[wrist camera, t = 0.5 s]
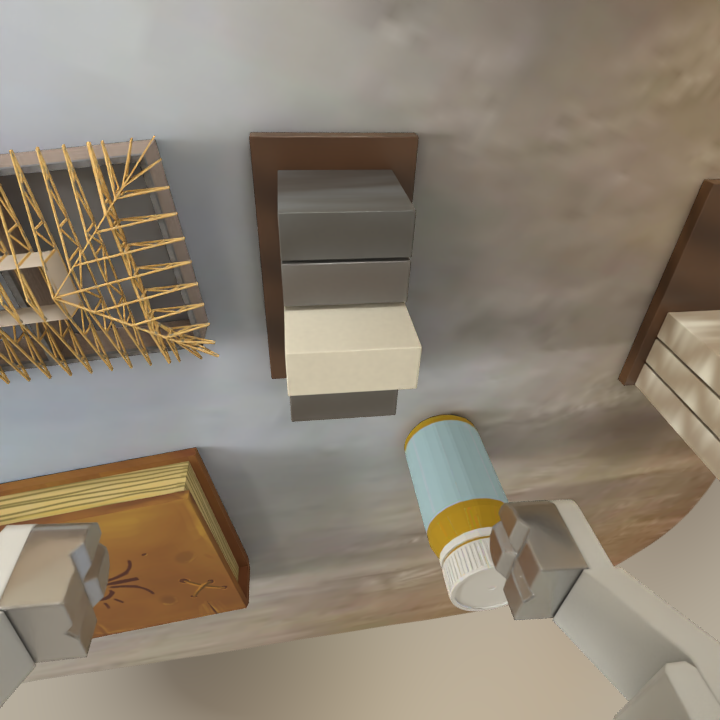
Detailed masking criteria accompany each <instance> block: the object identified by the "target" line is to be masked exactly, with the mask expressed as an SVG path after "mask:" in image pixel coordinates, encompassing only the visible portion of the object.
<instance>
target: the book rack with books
mask: <svg viewBox="0 0 720 720" xmlns="http://www.w3.org/2000/svg"><path fill="white" fill-rule="evenodd" d="M618 379H619V381H620V382H621V383H622V384H623V385H624V386H625V385H636V386H637V387H638V389H639V390H640V391H641V392H642V393H643V394H644V395H645V396H646V398H647V399H648V400H649V401H650V402H651V403H652V404H653V406H654V407H655V408H656V409H657V410H658V411H659V412H660V414H661V415H662V416H663V417H664V418H665V419H666V420H667V422H668V423H669V424H670V425H671V426H672V427H673V428H674V430H675V431H676V432H677V433H678V434H679V435H680V436H681V438H682V439H683V440H684V441H685V442H686V443H687V444H688V446H689V447H690V448H691V449H692V450H693V451H694V452H695V454H696V455H697V456H698V457H699V458H700V459H701V460H702V462H703V463H704V464H705V465H706V466H707V467H708V468H709V470H710V471H711V472H712V473H713V474H714V475H715V476H716V478H717V479H718V480H719V481H720V179H709V180H704V182H703V184H702V186H701V188H700V191H699V193H698V195H697V198H696V200H695V202H694V205H693V207H692V209H691V212H690V214H689V216H688V218H687V221H686V223H685V225H684V228H683V230H682V232H681V235H680V237H679V239H678V242H677V244H676V246H675V249H674V251H673V253H672V255H671V258H670V260H669V262H668V265H667V267H666V269H665V272H664V274H663V276H662V279H661V281H660V283H659V285H658V288H657V290H656V292H655V295H654V297H653V299H652V302H651V304H650V306H649V309H648V311H647V313H646V316H645V318H644V320H643V322H642V325H641V327H640V329H639V332H638V334H637V336H636V339H635V341H634V343H633V346H632V348H631V350H630V352H629V355H628V357H627V359H626V362H625V364H624V366H623V369H622V371H621V373H620V376H619V378H618Z"/></svg>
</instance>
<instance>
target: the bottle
mask: <svg viewBox="0 0 720 720" xmlns="http://www.w3.org/2000/svg"><path fill="white" fill-rule="evenodd" d="M404 449H405V454H406V459H407V463H408V466H409V470H410V474H411V478H412V481H413V485H414V489H415V493H416V496H417V500H418V504H419V508H420V511H421V515H422V519H423V523H424V526H425V530H426V534H427V538H428V540H429V544H430V547H431V548H432V550H433V551H434V553H435V554H436V555H437V557H438V558H439V559H440V564H441V568H442V570H443V576H444V580H445V583H446V587H447V590H448V594H449V598H450V600H451V601H452V603H453V604H454V605H455V606H456V607H458V608H460V609H463V610H467V611H486V610H492V609H496V608H500V607H503V606H506V605H508V602H507V599H506V596H505V594H504V591H503V588H504V584H505V581H506V579H505V578H504V577H503V576H502V575H501V574H500V573H499V572H498V571H496V569H495V567H494V564H493V561H492V558H491V553H490V548H489V547H490V533H491V530H492V527H493V526H494V525H495V524H496V523H498V522H499V521H500V520H501V519H500V516H499V514H498V513H499V510H500V508H501V506H502V505H503V504H504V503H506V502H508V500H507V498H506V495H505V493H504V491H503V488H502V486H501V484H500V482H499V479H498V477H497V475H496V473H495V470H494V468H493V466H492V463H491V461H490V459H489V457H488V454H487V452H486V450H485V447H484V445H483V443H482V441H481V438H480V436H479V434H478V432H477V430H476V428H475V427H474V425H473V424H472V423H471V422H470V421H468V420H467V419H465V418H462V417H459V416H455V415H438V416H434V417H430V418H428V419H426V420H424V421H422V422H421V423H419V424H418V425H417V426H416V427H415V428H414V429H413V430H412V431H411V432H410V434H409V435H408V437H407V439H406V441H405V446H404Z"/></svg>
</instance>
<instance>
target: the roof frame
mask: <svg viewBox="0 0 720 720" xmlns="http://www.w3.org/2000/svg"><path fill="white" fill-rule="evenodd" d="M154 137H155V136H153V138H152V139H151V140H141V141H133V138H131V139H130V142H121V143H111V144H104V141H101V145H91V142H87V143H86V144H87V146H81V147H71V148H66V147H65V144H63V145H62V148H61V149H51V150H41V151H40V149H39V147H36V151H31V152H21V153H14V152H13V150H10V151H9V152H10V154H1V155H0V176H5V175H15V174H16V176H17V180H18V183H19V187H20V190H21V193H22V197H23V200H24V204H25V207H26V211H27V214H28V218H29V221H30V224H31V228H32V231H33V235H34V238H35V242H36V245H37V248H38V252H34V251H33V249H32V247H31V245H30V243H29V241H28V239H27V237H26V235H25V233H24V231H23V229H22V227H21V225H20V223H19V221H18V219H17V217H16V215H15V213H14V211H13V209H12V207H11V205H10V203H9V201H8V199H7V197H6V195H5V193H4V190H3V188H2V186H1V184H0V272H1V274H2V276H3V278H4V279H5V281H6V283H7V285H8V287H9V289H10V290H11V292H12V294H13V296H14V298H15V299H16V301H17V303H18V305H19V307H20V308H19V309H15V308H14V306H13V305H12V303H11V301H10V299H9V297H8V296H7V294H6V292H5V290H4V289H3V287H2V285H1V283H0V292H1V293H0V303H1V305H2V306H3V307H4V308H5V309H6V310H2V311H0V327H6V326H13V333H14V340H13V339H12V338H11V337H10V336H8V335H7V334H6V333H5V332H4V331H3V330H2V329H1V328H0V334H1V335H0V339H1V338H2V340H3V341H0V372H1V374H2V375H3V376H2V375H0V378H1V379H2V380H3V381H5V382H6V383H7V384H9V383H10V381H9V379H8V378H7V376H6V375H5V373H4V372H6V371H14V370H16V371H17V372H19V373H20V374H21V375H22V376H23V377H24V378H25V379H26V380H28V381H30V380H31V378H30V377H29V375H28V373H27V372H26V370H25V369H30V368H37V367H38V368H39V369H40V370H41V371H42V372H43V373H44V374H45V375H46V376H47V377H48V378H49V379H51V377H52V376H51V375H50V373H49V371H48V369H47V367H46V366H53V365H60V366H61V367H62V368H63V369H64V370H65V371H66V372H67V373H68V374H69V375H70V376H72V372H71V371H70V369H69V367H68V365H67V364H69V363H77V362H81V363H82V364H83V365H84V366H85V368H86V369H87V370H88V371H89V372H90V373H91V374H92V372H93V371H92V369H91V367H90V365H89V363H88V361H93V360H101V359H102V360H103V361H104V363H105V364H106V365H107V366H108V367H109V369H110V370H111V371H113V367H112V365H111V363H110V361H109V358H117V357H123V359H124V360H125V361H126V363H127V364H128V365H129V367H130V368H132V367H133V366H132V364H131V361H130V359H129V357H128V356H133V355H141V354H142V355H143V356H144V358H145V359H146V361H147V362H148V363H149V365H150V366H151V365H152V363H151V360H150V358H149V355H148V354H149V353H157V352H162V354H163V356H164V357H165V359H166V360H167V362H168V364H170V363H171V360H170V357H169V354H168V352H167V351H173V353H174V354H175V356H176V358H177V360H178V361H179V362H180V361H181V360H180V357H179V354H178V351H177V350H180V349H186V350H188V351H189V352H191V353H192V354H194V355H195V356H197V357H198V358H200V359H202V356H201V355H200V354H199V353H198V352H197V351H196V350H199V351H202V352H204V353H207V354H210V355H213V356H216V357H219V355H218V354H217V353H215V352H213V351H211V350H209V349H207V348H205V347H204V346H203V344H215V341H212V340H207V339H205V334H206V329H207V326H209V325H210V323H208V318H207V315H206V312H205V308H204V303H203V301H202V298H201V295H200V291H199V288H198V282H197V281H196V277H195V274H194V271H193V267H192V264H191V262H192V261H191V260H190V257H189V254H188V250H187V247H186V243H185V237H183V233H182V230H181V226H180V223H179V220H178V216H177V214H178V213H177V212H176V209H175V206H174V202H173V199H172V196H171V192H170V189H169V188H170V186H169V185H168V182H167V179H166V175H165V172H164V168H163V165H162V162H161V160H162V159H161V158H160V155H159V151H158V148H157V145H156V141H155V139H154ZM132 162H137V163H136V165H135V167H134V168H133V170H132V171H131V173H130V175H129V176H128V172H129V165H130V163H132ZM123 163H126V166H125V171H124V176H123V182H122V187H121V189H120V187H119V184H118V181H117V178H116V175H115V173H114V170H113V167H112V165H113V164H123ZM138 164H140V167H141V170H142V171H141V172H139V173H138V174H136V175H135V176H133V177H132V178H130V177H131V175H132V174H133V172H134V170H135V169H136V167H137V165H138ZM103 165H106V166H107V170H108V174H109V179H110V183H111V187H112V191H113V195H114V201H113V202H112V199H111V197H110V194H109V191H108V189H107V186H106V183H105V180H104V178H103V175H102V172H101V169H100V167H99V166H103ZM84 167H92V168H93V172H94V176H95V180H96V184H97V188H98V192H99V196H100V200H101V204H102V209H103V213H104V217H103V218H102V220H101V221H100V223H99V225H98V226H97V225H96V222H95V220H94V217H93V215H92V212H91V210H90V207H89V205H88V202H87V200H86V197H85V195H84V192H83V190H82V187H81V185H80V182H79V180H78V177H77V175H76V172H75V170H74V168H84ZM109 167H110V168H109ZM64 169H68V172H69V176H70V179H71V183H72V187H73V191H74V195H75V199H76V202H77V206H78V210H79V214H80V218H81V222H82V225H83V229H84V233H85V237H86V241H87V244H86V246H85V247H84V249H83V250H82V247H81V245H80V243H79V240H78V238H77V236H76V233H75V231H74V229H73V226H72V224H71V222H70V219H69V217H68V215H67V212H66V210H65V208H64V205H63V203H62V201H61V198H60V196H59V194H58V191H57V189H56V187H55V184H54V182H53V180H52V177H51V175H50V173H49V171H54V170H64ZM35 172H42V174H43V177H44V181H45V185H46V188H47V192H48V195H49V199H50V203H51V206H52V210H53V214H54V217H55V221H56V224H57V228H58V232H59V235H60V239H61V243H62V246H63V250H64V253H65V257H66V261H67V264H68V268H69V272H68V269H67V267H66V265H65V263H64V261H63V259H62V256H61V254H60V252H59V250H58V248H57V246H56V243H55V241H54V239H53V237H52V235H51V233H50V230H49V228H48V226H47V224H46V222H45V220H44V217H43V215H42V213H41V211H40V209H39V206H38V204H37V202H36V200H35V198H34V196H33V193H32V191H31V189H30V187H29V185H28V183H27V180H26V178H25V176H24V174H25V173H35ZM71 172H72V173H71ZM19 174H20V176H19ZM142 174H143V177H144V180H145V183H146V186H147V188H146V189H136V190H127V191H122V190H123V188H124V187H125V186H127V185H128V184H130V183H131V182H132V181H134V180H135V179H136V178H138V177H139V176H140V175H142ZM74 176H75V178H74ZM113 176H114V179H115V182H116V185H117V187H118V188H117V189H116V191H115V185H114V179H113ZM48 177H49V179H50V182H51V184H52V186H53V189H54V191H55V193H56V196H57V198H58V200H59V202H58V200H57V198H56V197H55V195H54V193H53V191H52V190H51V188H50V185H49V180H48ZM75 179H76V181H77V184H78V186H79V189H80V191H81V194H82V196H83V199H84V201H85V204H86V205H85V204H84V202H83V200H82V198H81V196H80V194H79V193H78V191H77V189H76V185H75ZM23 181H24V183H25V186H26V188H27V190H28V192H29V194H30V196H31V198H32V201H33V203H34V204H33V203H32V201H31V199H30V198H29V196H28V195H27V193H26V191H25V190H24V186H23ZM100 181H101V182H100ZM124 182H125V183H124ZM101 183H102V185H101ZM118 191H119V192H118ZM102 192H103V193H102ZM127 192H134V193H130V194H127V195H124V194H125V193H127ZM117 193H118V194H117ZM120 193H121V195H120ZM146 193H149V195H150V198H151V202H152V205H153V208H154V211H155V214H156V215H149V216H139V217H130V218H121V219H119V218H118V216H117V213H116V210H115V208H114V203H115V202H116V200H117V199H122V198H127V197H132V196H136V195H141V194H146ZM51 194H52V196H53V197H54V199H55V201H56V203H57V204H58V206H59V208H60V209H61V211H62V213H63V214H64V216H65V219H64V221H63V222H62V223H61V224H60V225H59V221H58V218H57V214H56V210H55V207H54V203H53V200H52V196H51ZM103 194H104V195H105V197H106V200H105V201H104V197H103ZM116 194H117V196H116ZM77 195H78V196H77ZM119 195H120V196H119ZM25 196H26V197H27V199H28V201H29V202H30V204H31V205H32V207H33V208H34V210H35V212H36V213H37V215H38V216H39V218H40V220H41V222H40V223H39V224H38V225H37V226H36V227H35V228H34V224H33V221H32V217H31V214H30V211H29V207H28V204H27V200H26V197H25ZM78 197H79V199H80V201H81V203H82V204H83V206H84V208H85V210H86V212H87V213H88V215H89V217H90V219H91V221H92V224H91V225H90V227H89V228H88V229H87V231H86V227H85V223H84V219H83V215H82V211H81V207H80V204H79V200H78ZM108 202H109V205H110V207H109V208H108V206H107V203H108ZM34 205H35V206H34ZM86 206H87V207H86ZM110 209H111V210H112V211H111V210H110ZM109 214H110V215H111V216H112V218H113V219H114V220H115V221H114V222H113V223H112V220H111V217H110V215H109ZM105 216H106V217H107V220H108V223H109V225H110V228H108V229H104V230H98V228H99V226H100V225H101V223H102V221H103V220H104V218H105ZM149 217H151V218H149ZM140 218H149V219H140ZM153 220H158V223H159V227H160V230H161V233H162V236H163V239H164V240H155V241H146V242H137V243H127V240H126V237H125V235H124V232H123V229H122V228H123V227H127V226H131V225H136V224H140V223H144V222H149V221H153ZM66 221H68V223H69V226H70V228H71V230H72V233H73V235H74V237H75V240H76V241H74V240H73V239H72V238H71V237H70V236H69V235H68V234H67V233H66V232H65V231H64V230H63V229H62V228H61V227H62V226H63V225H64V224H65V223H66ZM121 221H139V222H134V223H130V224H125V225H121V224H120V222H121ZM42 224H44V226H45V229H46V231H47V233H48V235H49V237H50V239H51V241H52V243H50V242H49V241H48V240H47V239H46V238H44V237H43V236H42V235H41V234H39V233H38V232H37V231H36V230H37V229H38V228H39V227H40V226H41V225H42ZM93 226H95V229H96V230H95V231H94V233H93V234H92V235H90V234H89V233H88V232H89V231H90V230H91V228H92V227H93ZM117 229H119V232H120V233H119V232H118V231H117ZM110 230H112V233H113V236H114V238H115V241H116V243H117V246H118V249H119V251H120V253H119V254H115V255H111V256H109V255H108V252H107V250H106V247H105V245H104V242H103V240H102V237H101V235H100V233H101V232H105V231H110ZM62 233H64V234H65V235H66V236H67V237H68V238H69V239H70V240H71V241H72V242H73V243H74V244H76V245H77V246H78V248H77V249H76V250H75V252H74V253H73V254H72V256H71V257H70V258H68V254H67V251H66V247H65V243H64V240H63V236H62ZM36 234H37V235H38V236H39V237H41V238H42V239H43V240H44V241H46V242H47V243H48V244H49V245H50V246H52V247H53V250H51V251H43V252H41V249H40V245H39V242H38V238H37V235H36ZM94 234H98V236H99V239H100V241H99V240H98V239H96V238H95V237H93V236H94ZM89 237H90V238H89ZM118 237H119V238H120V239H121V240H122V241H123V243H122V244H120V241H119V239H118ZM91 239H94V240H95V241H97V242H98V243H100V244H101V245H100V247H99V248H98V250H97V251H96V253H95V250H94V248H93V246H92V243H91ZM155 242H159V243H157V244H146V243H155ZM163 242H164V243H163ZM88 244H89V245H90V247H91V250H92V252H93V255H94V257H95V260H91V261H87V259H86V257H85V254H84V250H85V249H86V247H87V245H88ZM161 245H166V248H167V252H168V255H169V258H170V261H171V263H165V264H156V265H148V266H139V267H136V265H135V262H134V259H133V257H132V254H131V253H133V252H137V251H141V250H145V249H149V248H153V247H157V246H161ZM130 246H148V247H144V248H140V249H136V250H131V251H130V248H129V247H130ZM101 248H102V251H103V258H99V259H98V258H97V255H98V253H99V251H100V250H101ZM123 248H124V249H125V251H124V252H123ZM78 251H79V257H78V259H77V260H76V262H75V264H74V265H73V267H72V265H71V260H72V259H73V257H74V256H75V255H76V253H77V252H78ZM105 254H106V256H107V257H105ZM125 254H126V257H125ZM81 255H82V256H83V258H84V260H85V262H83V263H81ZM117 256H121V257H122V259H123V262H124V264H125V267H126V270H127V272H128V275H129V277H128V278H124V279H120V280H118V278H117V275H116V272H115V270H114V267H113V265H112V262H111V260H110V258H113V257H117ZM105 259H108V261H109V264H110V266H111V269H112V271H113V274H114V276H115V279H116V281H112V282H108V278H107V269H106V260H105ZM126 259H127V260H126ZM78 260H79V264H76V263H77V262H78ZM101 260H104V269H105V275H104V272H103V270H102V267H101V265H100V263H99V261H101ZM130 261H131V264H132V266H133V269H134V272H135V273H134V275H133V274H132V269H131V264H130ZM92 262H97V264H98V267H99V269H100V271H101V274H102V276H103V279H104V281H105V284H101V285H97V282H96V280H95V278H94V275H93V273H92V271H91V268H90V266H89V264H88V263H92ZM84 264H86V265H87V267H88V270H89V272H90V274H91V277H92V279H93V281H94V283H95V286H93V287H89V288H86V289H83V288H82V265H84ZM165 265H167V266H166V267H164V268H149V267H157V266H165ZM41 266H43V269H44V271H43V269H42V267H41ZM76 266H79V268H80V283H79V281H78V279H77V277H76V274H75V272H74V270H73V268H74V267H76ZM171 268H173V270H174V273H175V277H176V280H177V283H178V285H172V286H163V287H155V288H146V289H144V286H143V284H142V281H141V278H140V276H144V275H148V274H152V273H156V272H159V271H163V270H167V269H171ZM139 269H151V270H154V271H151V272H147V273H143V274H139V273H138V270H139ZM71 272H72V274H73V276H74V279H75V281H76V283H77V285H78V287H79V290H78V291H77V289H76V287H75V285H74V282H73V280H72V278H71V276H70V273H71ZM44 273H45V274H44ZM135 278H137V280H138V282H137V281H136V279H135ZM129 279H130V280H131V283H132V285H133V288H134V291H135V293H136V296H137V298H138V300H134V301H130V302H127V300H126V298H125V295H124V293H123V290H122V288H121V285H120V283H119V282H121V281H125V280H129ZM114 283H118V286H119V288H120V291H121V292H120V291H119V290H117V289H116V288H115V287H114V286H113V285H111V284H114ZM51 285H52V287H53V289H54V291H55V293H56V294H54V292H53V290H52V287H51ZM103 286H107V288H108V290H109V293H110V295H111V298H112V300H113V302H114V305H115V306H112V307H109V308H107V305H106V303H105V301H104V298H103V296H102V294H101V291H100V289H99V287H103ZM109 286H110V287H112V288H113V289H114V290H115V291H117V292H118V293H119V294H120V295H121V296H122V297H121V299H120V301H119V303H118V305H117V304H116V301H115V299H114V296H113V294H112V292H111V289H110V287H109ZM137 287H138V289H139V290H140V291H141V293H142V295H141V297H140V294H139V292H138V289H137ZM172 287H175V288H173V289H171V290H156V289H164V288H172ZM95 288H97V290H98V293H99V295H100V296H99V295H96V294H94V293H92V292H90V291H88V290H91V289H95ZM178 290H180V292H181V295H182V299H183V302H184V305H185V306H176V307H168V308H160V309H152V308H151V305H150V303H149V300H148V299H150V298H153V297H157V296H160V295H164V294H168V293H171V292H175V291H178ZM147 291H158V292H163V293H159V294H156V295H152V296H148V297H147V295H146V292H147ZM80 292H81V294H82V296H83V298H84V300H85V303H86V305H87V307H88V308H85V306H84V304H83V302H82V300H81V298H80V296H79V293H80ZM84 292H87V293H89V294H91V295H93V296H96V297H98V298H100V300H99V302H98V304H97V306H96V308H95V309H94V311H93V310H91V308H90V305H89V303H88V301H87V299H86V297H85V294H84ZM1 294H2V295H3V297H4V299H5V301H6V302H7V304H8V306H9V308H10V309H11V310H10V309H9V308H8V307H7V306H6V305H5V304H4V302H3V299H2V296H1ZM56 295H57V296H56ZM122 300H123V304H121V302H122ZM143 300H144V305H143V302H142V301H143ZM58 301H60V303H61V304H60V303H59V302H58ZM135 302H139V304H140V306H141V309H142V312H143V314H144V317H145V319H146V321H142V322H139V323H135V320H134V318H133V315H132V313H131V310H130V308H129V305H128V304H132V303H135ZM100 303H102V310H98V311H97V309H98V307H99V305H100ZM125 305H126V306H127V308H128V311H129V315H128V318H127V320H126V321H125ZM121 306H123V318H124V320H123V318H122V316H121V313H120V311H119V307H121ZM104 307H105V309H104ZM147 307H148V309H149V313H148V309H147ZM78 308H80V309H81V318H82V326H83V332H82V330H81V329H80V328H79V327H78V325H77V324H76V323H75V322H74V321H73V319H72V318H73V316H74V315H75V313H76V311H77V310H78ZM114 308H116V310H117V312H118V314H119V317H120V319H121V320H119V319H116V318H113V317H111V315H110V312H109V310H110V309H114ZM176 308H181V309H180V310H178V311H167V310H168V309H176ZM185 308H186V309H185ZM83 310H84V313H85V315H86V317H87V319H88V321H89V323H90V325H89V326H88V328H87V330H86V332H85V326H84V318H83ZM87 311H88V312H89V314H90V315H91V316H92V318H93V319H94V320H95V322H96V323H97V324H98V326H99V327H100V328H101V330H97V331H96V330H95V328H94V326H93V324H92V322H91V319H90V317H89V315H88V313H87ZM104 311H107V313H108V316H107V315H105V312H104ZM185 311H187V314H188V317H189V319H186V320H178V321H170V322H162V323H159V322H157V321H156V320H157V319H161V318H164V317H168V316H171V315H174V314H178V313H181V312H185ZM100 312H103V314H102V313H100ZM154 312H169V313H170V314H166V315H163V316H159V317H156V318H155V316H154ZM94 314H97V315H100V316H102V317H103V319H104V327H105V329H104V328H103V327H102V325H101V324H100V323H99V321H98V320H97V319H96V317H95V316H94ZM105 318H108V319H110V320H111V322H110V324H109V326H108V328H106V320H105ZM129 318H131V321H132V324H130V323H128V321H129ZM149 318H150V319H149ZM67 319H69V320H70V321H71V322H72V324H73V325H74V326H75V327H76V329H77V330H78V331H79V332H80V333H74V332H73V330H72V328H71V326H70V324H69V322H68V320H67ZM113 320H114V321H117V322H119V323H121V324H122V326H123V327H121V328H116V326H115V324H114V322H113ZM150 321H151V324H150ZM144 323H147V324H146V325H140V324H144ZM24 324H29V325H30V327H31V328H32V330H33V332H34V334H35V335H34V334H33V333H32V332H31V331H30V330H29V329H28V328H27V327H26V326H25V325H24ZM15 325H20V327H21V329H22V331H23V333H22V335H21V336H20V337H19V339H16V330H15ZM111 325H112V327H113V329H110V327H111ZM126 325H128V326H129V327H126ZM90 327H91V330H92V331H89V329H90ZM26 331H27V332H28V333H29V334H30V335H31V336H32V337H31V338H30V337H29V335H28V334H27V332H26ZM23 336H25V338H23V339H22V337H23ZM7 339H8V340H7ZM197 347H201V348H203V349H204V350H203V349H200V348H197ZM189 348H191V349H192V350H193V351H194V352H193V351H192V350H190V349H189ZM195 349H196V350H195ZM175 351H176V352H175ZM145 354H146V355H145ZM125 356H126V357H127V359H126V357H125ZM146 356H147V357H146ZM105 359H106V360H107V361H106V360H105ZM84 362H86V364H87V365H86V364H85V363H84ZM63 364H64V365H65V367H66V368H65V367H64V365H63ZM42 367H43V368H44V369H45V370H44V369H43V368H42ZM20 370H22V371H23V372H24V373H23V372H22V371H20Z"/></svg>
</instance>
